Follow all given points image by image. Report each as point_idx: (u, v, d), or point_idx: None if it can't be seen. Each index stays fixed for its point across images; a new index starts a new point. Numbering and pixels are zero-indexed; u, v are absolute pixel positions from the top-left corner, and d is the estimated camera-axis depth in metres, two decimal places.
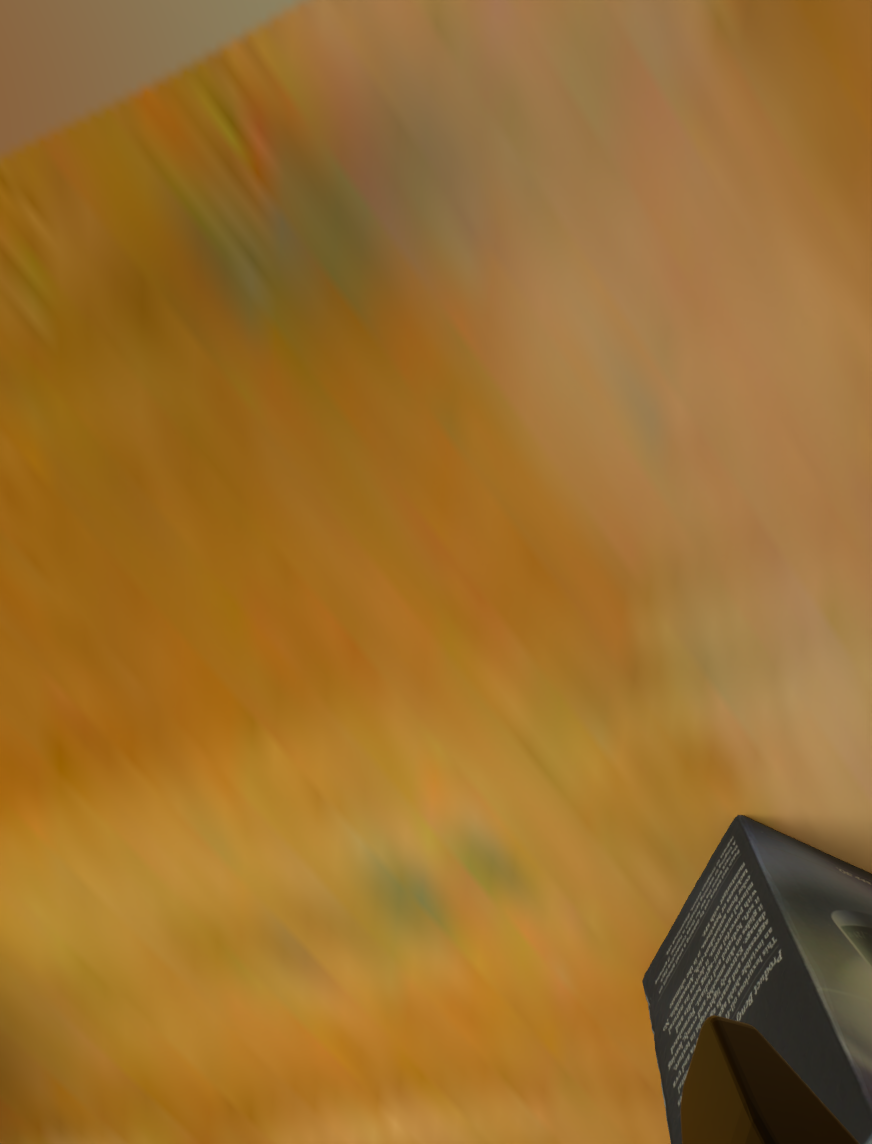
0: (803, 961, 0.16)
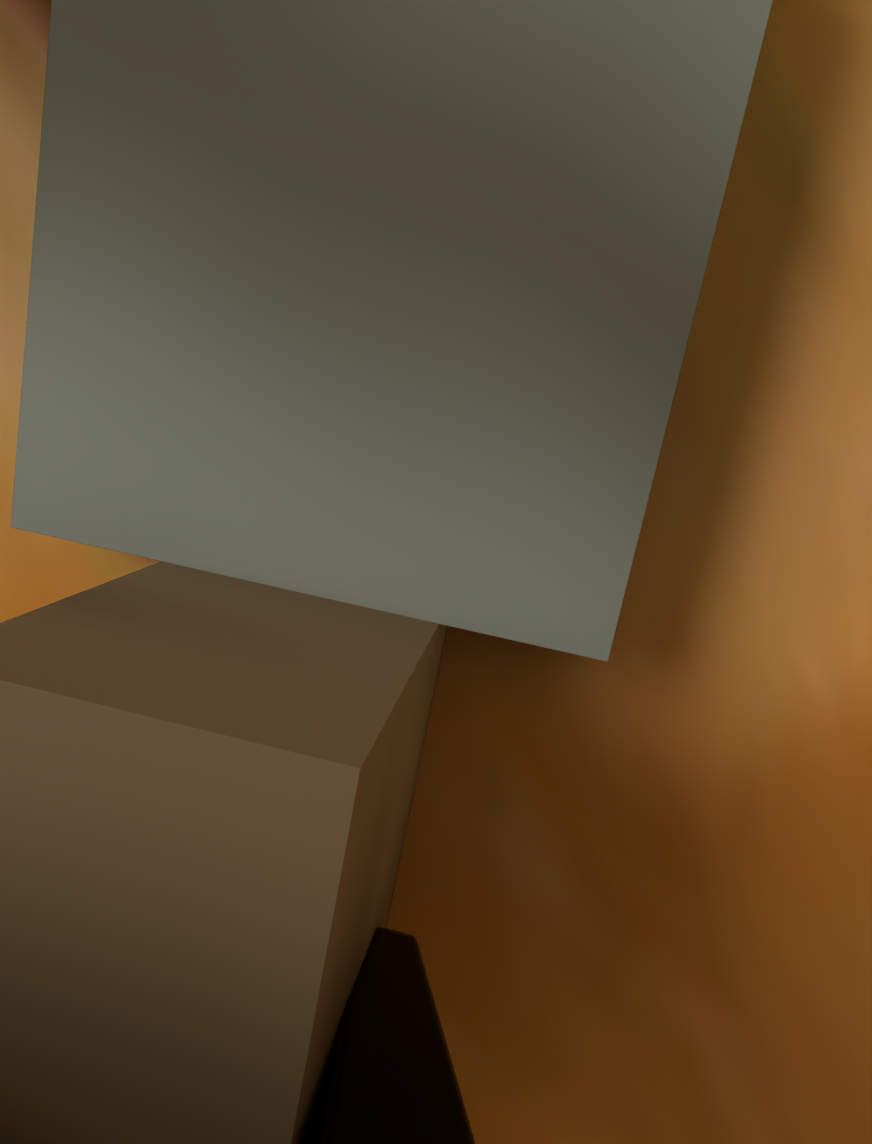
0: None
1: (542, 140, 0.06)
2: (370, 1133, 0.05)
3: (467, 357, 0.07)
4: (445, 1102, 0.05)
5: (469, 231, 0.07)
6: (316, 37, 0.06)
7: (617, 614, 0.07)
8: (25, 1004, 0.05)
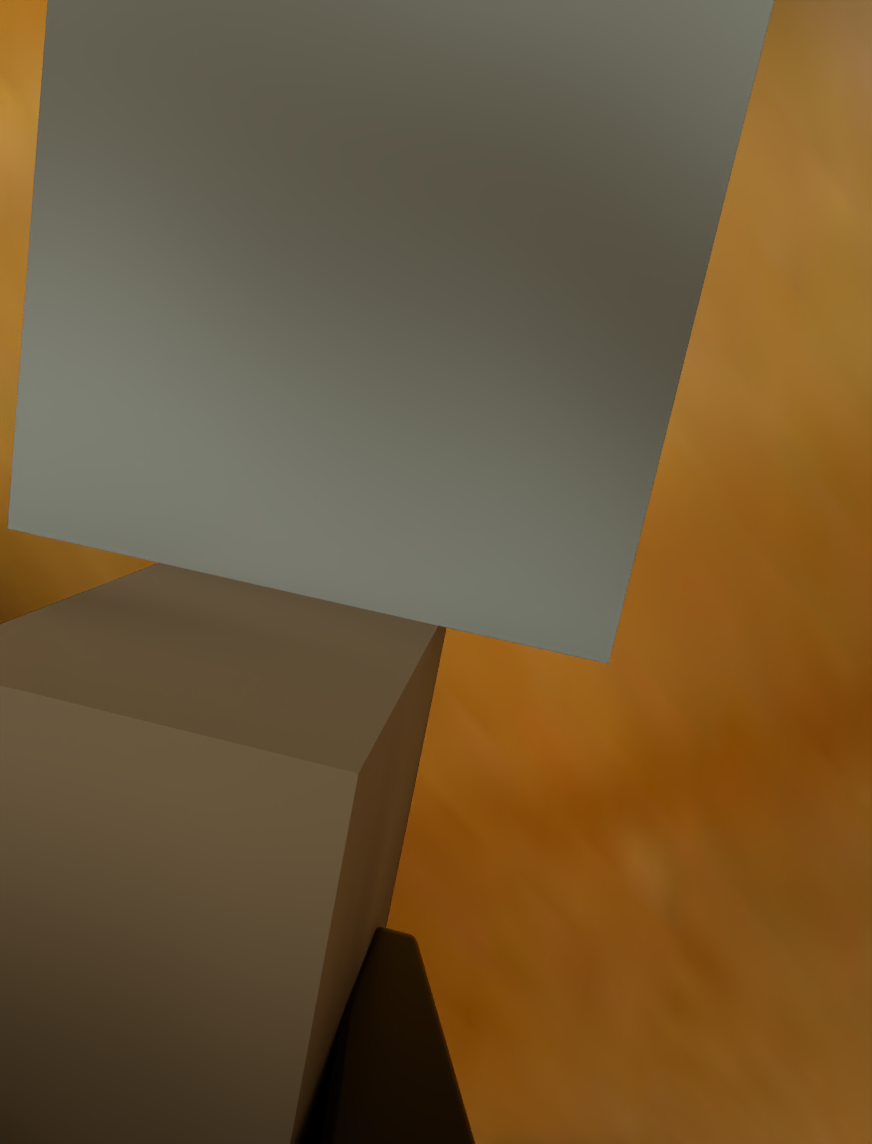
0: None
1: (542, 139, 0.06)
2: (370, 1133, 0.05)
3: (467, 357, 0.07)
4: (445, 1102, 0.05)
5: (469, 230, 0.06)
6: (314, 34, 0.06)
7: (618, 616, 0.07)
8: (20, 1011, 0.05)
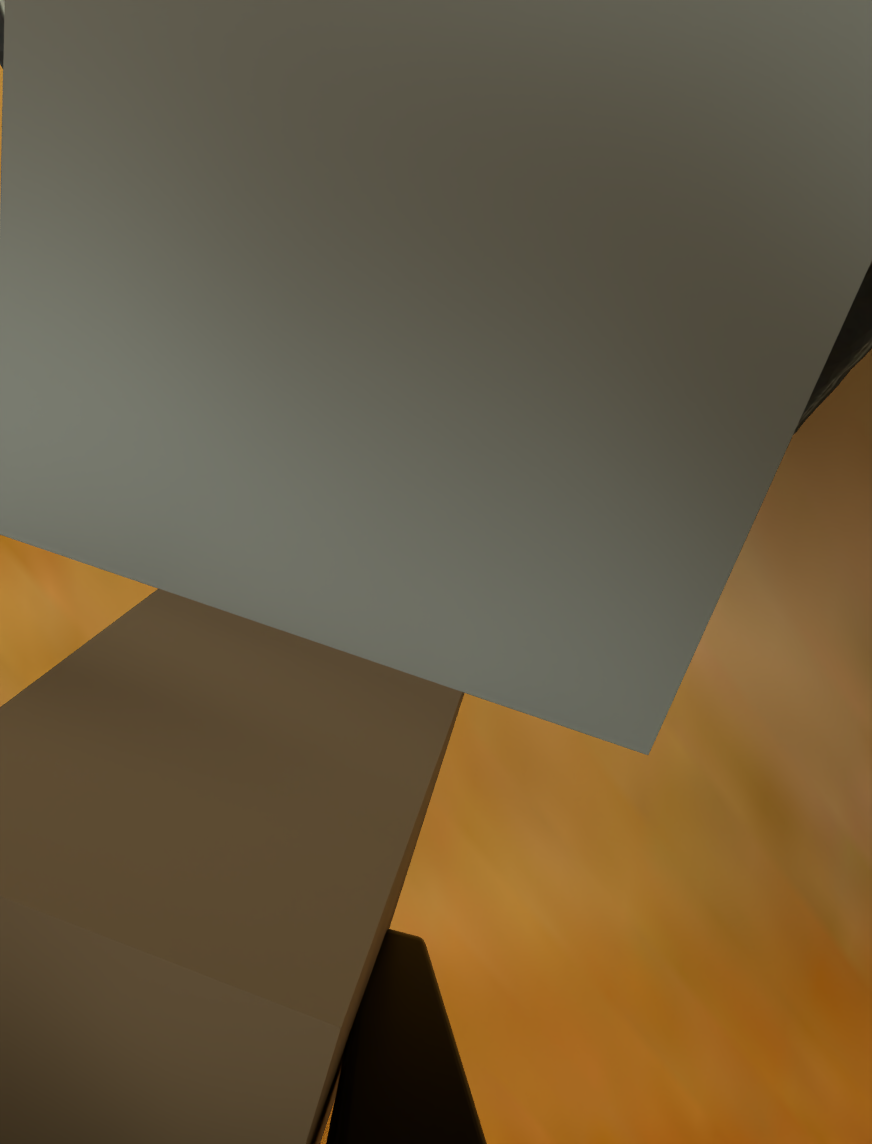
0: None
1: (648, 136, 0.05)
2: (382, 1137, 0.05)
3: (522, 405, 0.05)
4: (457, 1105, 0.05)
5: (540, 246, 0.05)
6: None
7: (666, 711, 0.06)
8: None
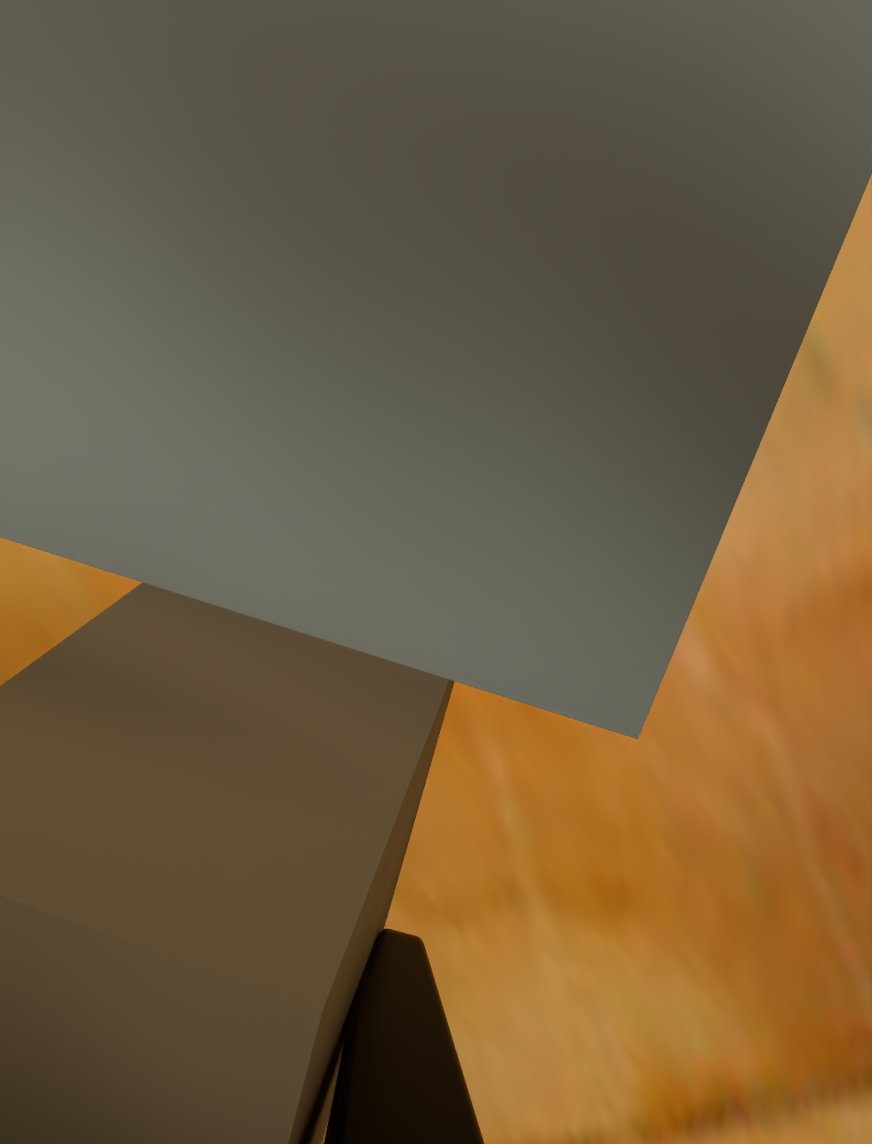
0: None
1: (620, 110, 0.05)
2: (380, 1136, 0.05)
3: (500, 387, 0.05)
4: (455, 1105, 0.05)
5: (513, 227, 0.05)
6: None
7: (654, 694, 0.06)
8: None
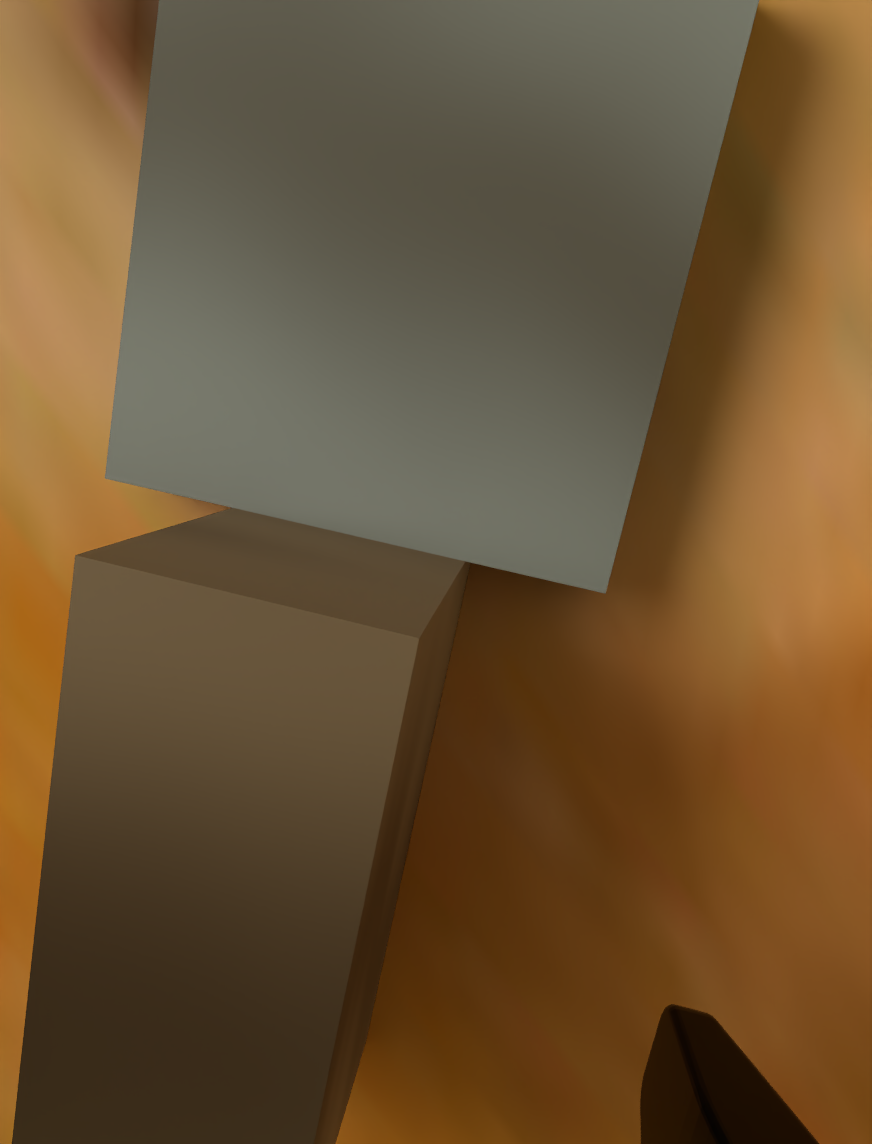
0: None
1: (557, 162, 0.08)
2: None
3: (493, 338, 0.08)
4: None
5: (496, 233, 0.08)
6: (374, 74, 0.08)
7: (614, 553, 0.08)
8: (151, 829, 0.06)
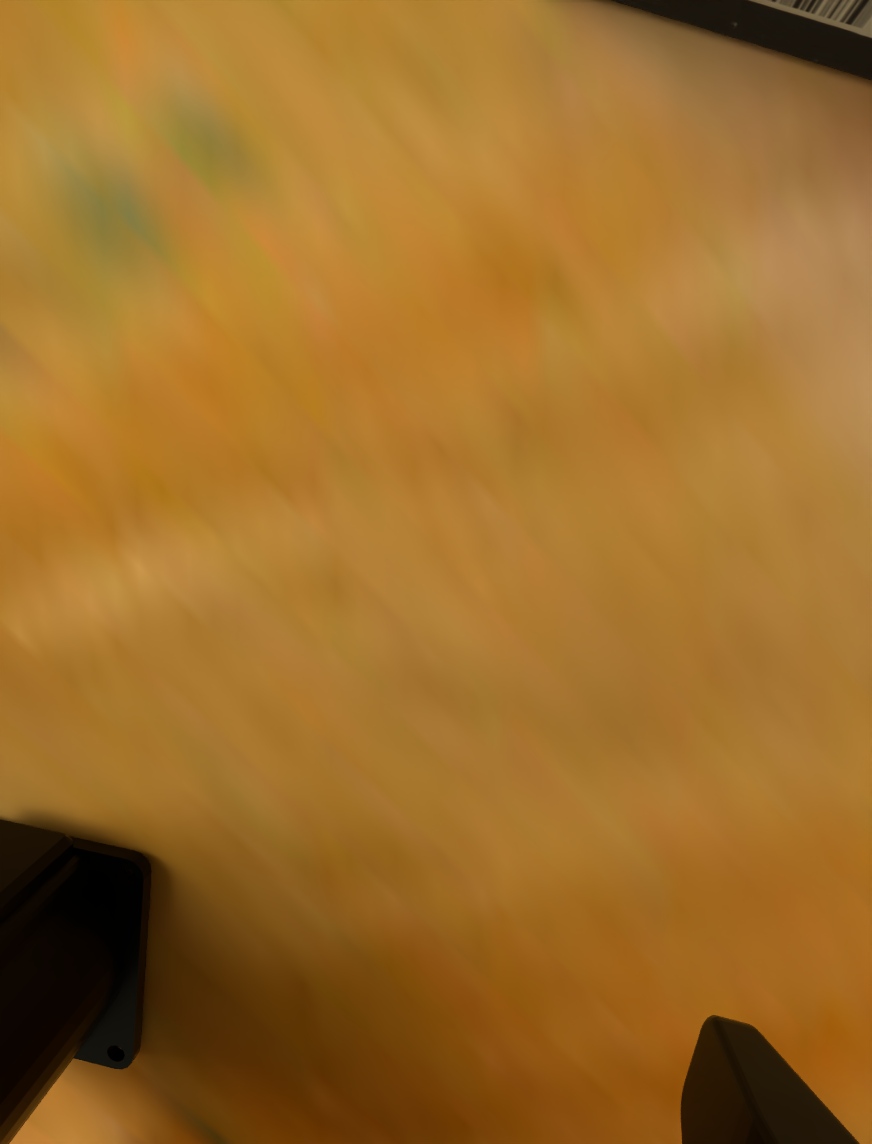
0: None
1: None
2: None
3: None
4: None
5: None
6: None
7: None
8: None
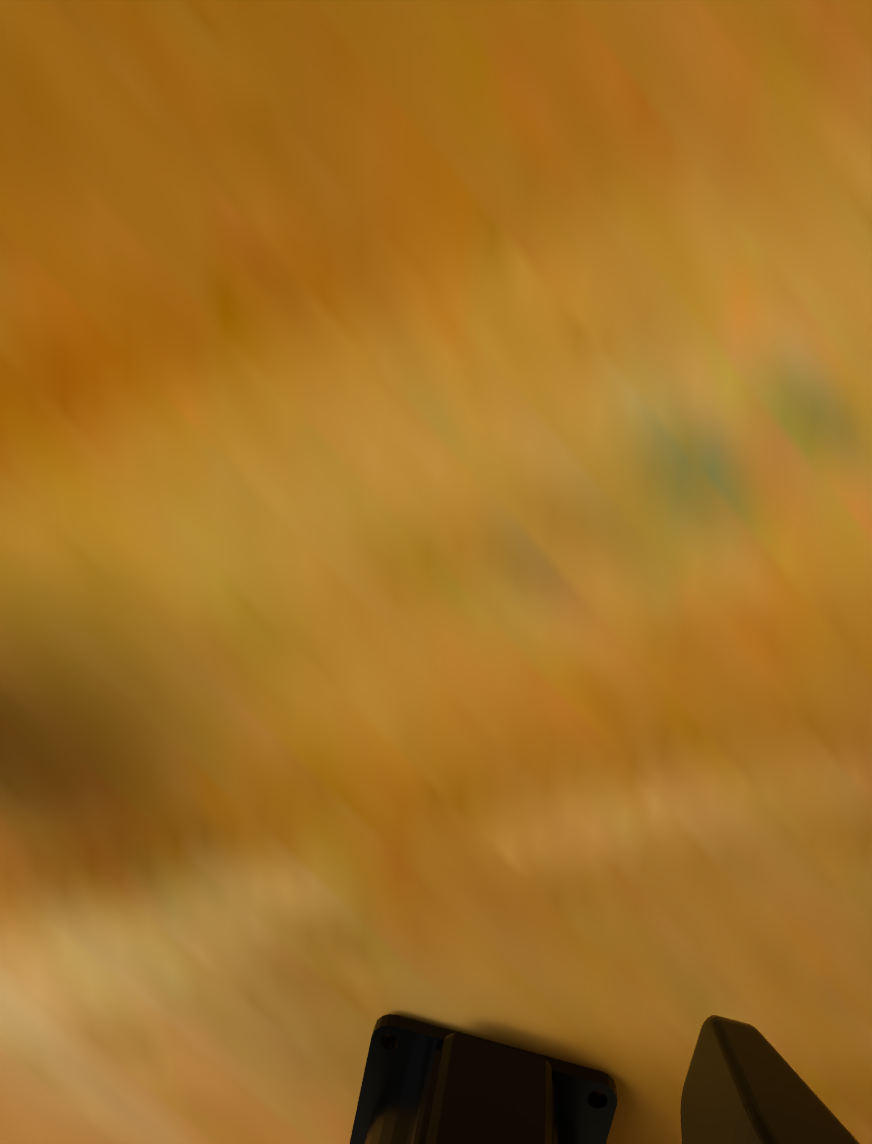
0: None
1: None
2: None
3: None
4: None
5: None
6: None
7: None
8: None
